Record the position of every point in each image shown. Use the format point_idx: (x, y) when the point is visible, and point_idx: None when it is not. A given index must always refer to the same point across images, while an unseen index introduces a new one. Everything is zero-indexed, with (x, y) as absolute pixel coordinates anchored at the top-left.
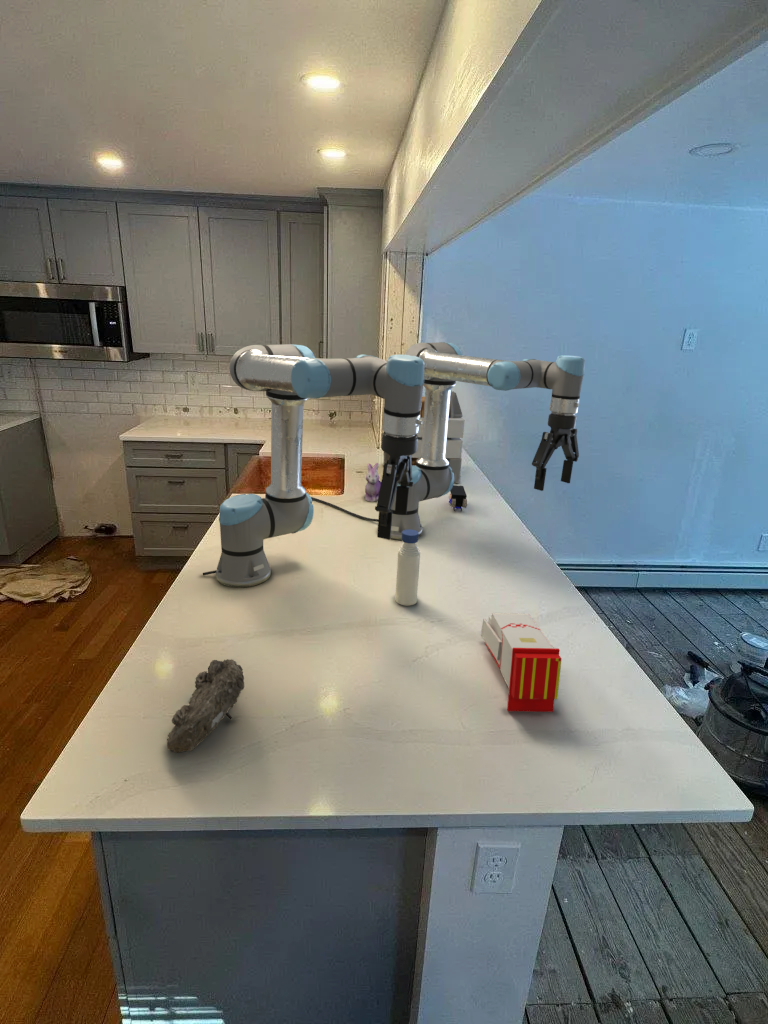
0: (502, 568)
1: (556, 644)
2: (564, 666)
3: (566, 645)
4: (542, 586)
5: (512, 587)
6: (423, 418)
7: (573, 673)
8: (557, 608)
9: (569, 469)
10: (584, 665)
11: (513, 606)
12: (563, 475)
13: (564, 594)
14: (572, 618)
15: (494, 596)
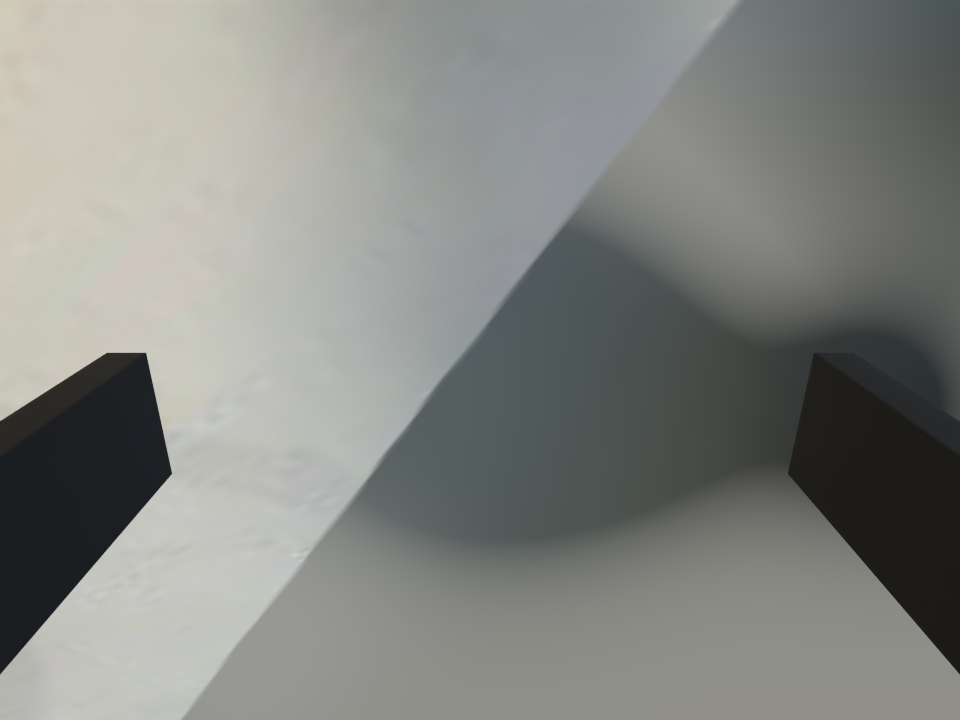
0: (355, 57)
1: None
2: None
3: (111, 572)
4: (370, 306)
5: (241, 231)
6: None
7: None
8: (271, 442)
9: (926, 608)
10: (83, 641)
11: (123, 338)
12: (866, 429)
13: (390, 398)
14: (261, 505)
15: (104, 237)
